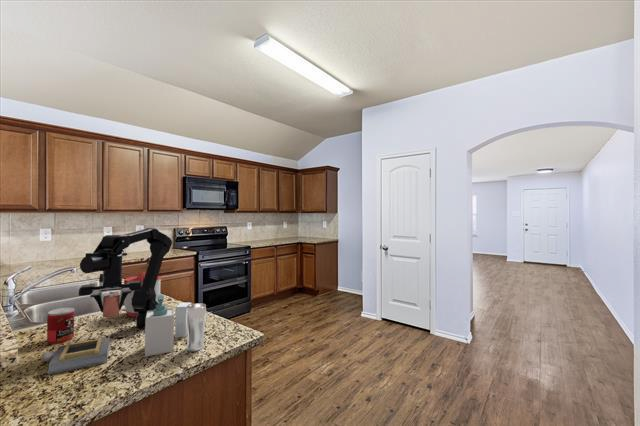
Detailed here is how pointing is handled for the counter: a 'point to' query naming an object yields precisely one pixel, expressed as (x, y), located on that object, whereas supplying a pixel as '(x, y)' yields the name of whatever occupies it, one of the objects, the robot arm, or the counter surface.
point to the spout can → (111, 305)
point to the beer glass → (195, 326)
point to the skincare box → (181, 320)
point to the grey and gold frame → (78, 355)
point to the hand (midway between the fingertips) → (111, 310)
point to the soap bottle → (159, 329)
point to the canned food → (60, 325)
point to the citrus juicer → (128, 298)
